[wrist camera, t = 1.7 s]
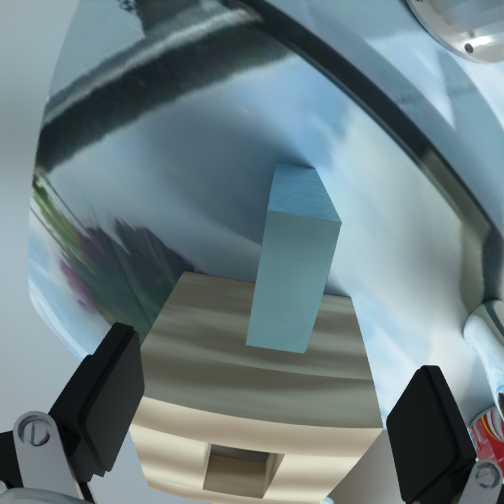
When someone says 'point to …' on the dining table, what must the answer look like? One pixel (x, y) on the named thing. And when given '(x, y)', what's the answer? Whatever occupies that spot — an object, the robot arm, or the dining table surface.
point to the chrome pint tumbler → (489, 345)
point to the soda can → (489, 436)
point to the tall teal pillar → (293, 260)
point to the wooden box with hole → (250, 401)
